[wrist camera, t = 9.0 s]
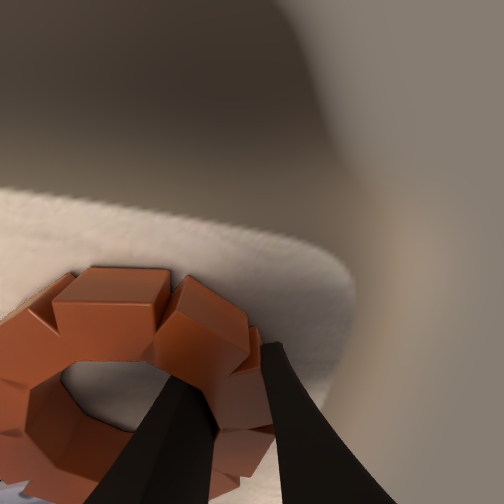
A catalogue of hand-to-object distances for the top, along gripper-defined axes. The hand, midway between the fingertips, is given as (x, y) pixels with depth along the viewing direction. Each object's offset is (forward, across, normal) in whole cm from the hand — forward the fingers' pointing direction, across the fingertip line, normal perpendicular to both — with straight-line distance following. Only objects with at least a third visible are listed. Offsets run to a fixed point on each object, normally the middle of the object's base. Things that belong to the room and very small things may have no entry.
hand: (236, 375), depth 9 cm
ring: (0, +3, 0) cm, 3 cm away
